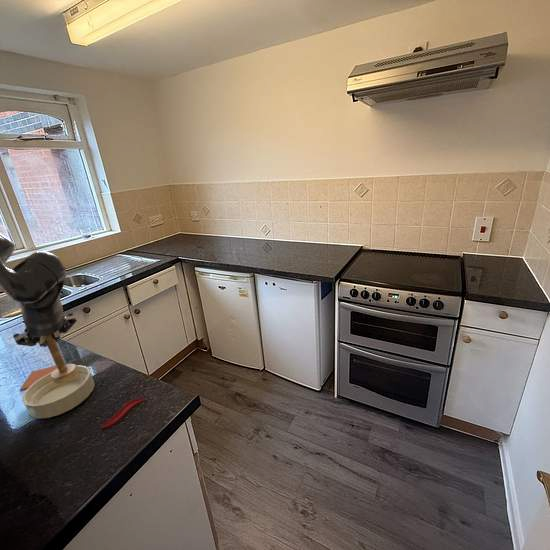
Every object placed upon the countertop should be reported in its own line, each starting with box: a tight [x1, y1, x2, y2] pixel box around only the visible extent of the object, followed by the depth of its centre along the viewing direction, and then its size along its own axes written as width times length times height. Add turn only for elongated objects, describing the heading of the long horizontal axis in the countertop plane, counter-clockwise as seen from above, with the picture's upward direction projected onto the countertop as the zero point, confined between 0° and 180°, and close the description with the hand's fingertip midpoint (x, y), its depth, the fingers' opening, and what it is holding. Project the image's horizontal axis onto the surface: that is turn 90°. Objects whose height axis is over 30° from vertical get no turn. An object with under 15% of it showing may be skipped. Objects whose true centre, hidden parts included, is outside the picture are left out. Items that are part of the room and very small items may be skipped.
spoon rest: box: [19, 365, 57, 391], centre depth 97 cm, size 9×9×1 cm
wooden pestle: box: [46, 334, 78, 383], centre depth 82 cm, size 6×6×15 cm
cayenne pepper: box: [99, 398, 147, 429], centre depth 79 cm, size 12×5×2 cm, turn 131°
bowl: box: [21, 364, 96, 420], centre depth 86 cm, size 16×16×5 cm
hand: (49, 341), depth 82 cm, fingers closed on wooden pestle
